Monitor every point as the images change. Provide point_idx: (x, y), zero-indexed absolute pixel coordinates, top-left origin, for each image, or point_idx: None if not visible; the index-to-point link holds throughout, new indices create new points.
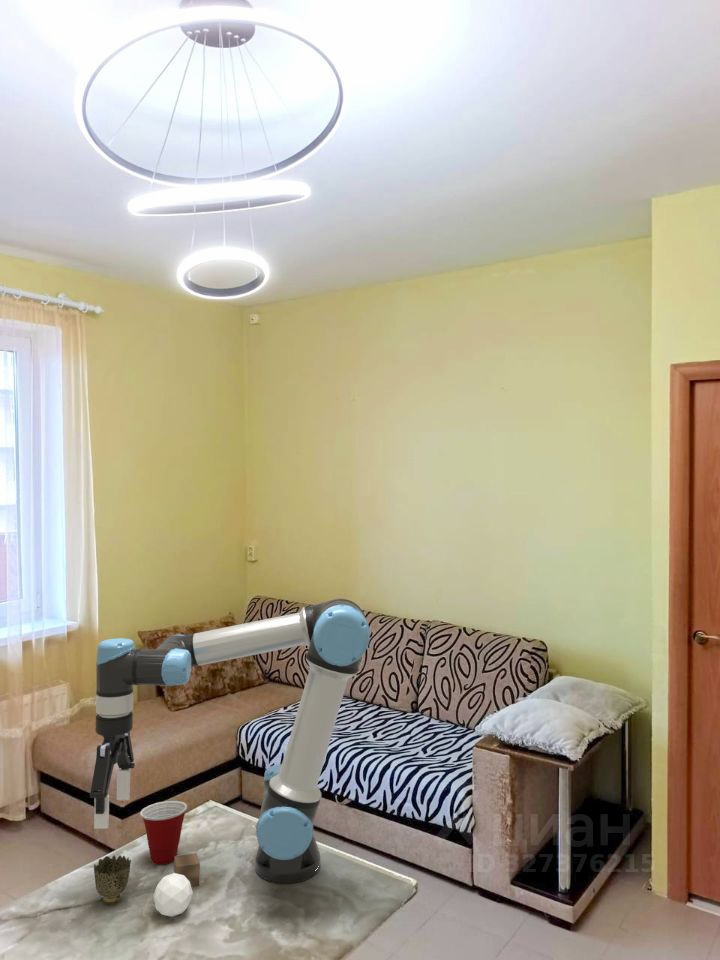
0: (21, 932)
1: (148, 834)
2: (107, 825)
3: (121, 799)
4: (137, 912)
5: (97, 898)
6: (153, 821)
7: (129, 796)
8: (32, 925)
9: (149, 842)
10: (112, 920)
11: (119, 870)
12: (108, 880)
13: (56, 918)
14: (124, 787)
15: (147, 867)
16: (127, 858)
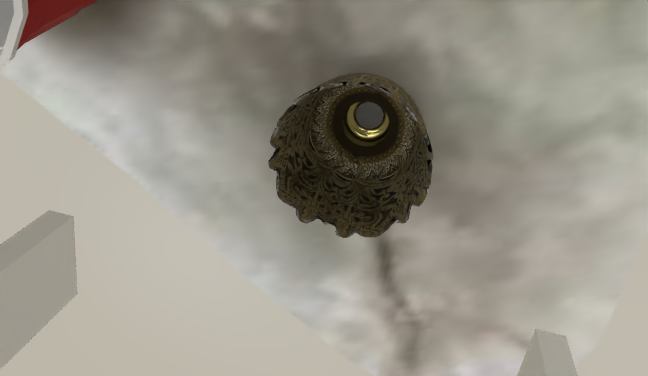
0: (495, 349)
1: (49, 25)
2: (565, 351)
3: (72, 267)
4: (468, 7)
5: None
6: (28, 5)
7: (42, 222)
8: (464, 327)
9: (69, 14)
10: (501, 96)
11: (298, 120)
12: (429, 160)
13: (441, 271)
14: (8, 304)
15: (142, 7)
16: (297, 101)
